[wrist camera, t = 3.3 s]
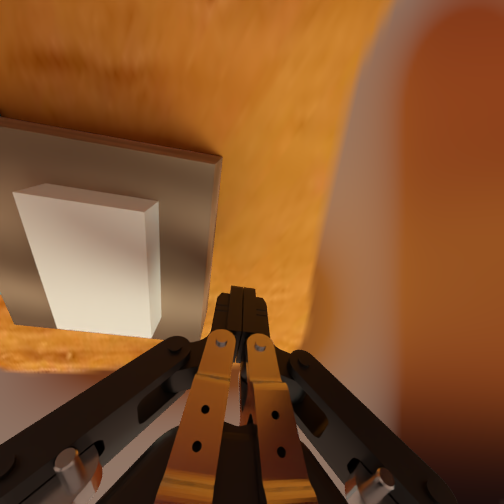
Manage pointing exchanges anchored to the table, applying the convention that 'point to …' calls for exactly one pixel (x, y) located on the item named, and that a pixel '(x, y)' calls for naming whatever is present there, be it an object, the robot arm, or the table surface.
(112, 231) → the white rectangular block
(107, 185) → the block
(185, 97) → the table surface
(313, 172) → the table surface
